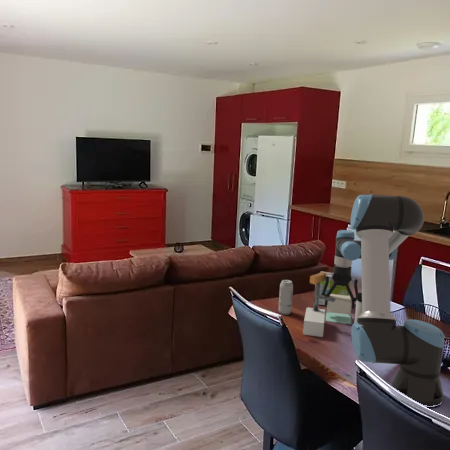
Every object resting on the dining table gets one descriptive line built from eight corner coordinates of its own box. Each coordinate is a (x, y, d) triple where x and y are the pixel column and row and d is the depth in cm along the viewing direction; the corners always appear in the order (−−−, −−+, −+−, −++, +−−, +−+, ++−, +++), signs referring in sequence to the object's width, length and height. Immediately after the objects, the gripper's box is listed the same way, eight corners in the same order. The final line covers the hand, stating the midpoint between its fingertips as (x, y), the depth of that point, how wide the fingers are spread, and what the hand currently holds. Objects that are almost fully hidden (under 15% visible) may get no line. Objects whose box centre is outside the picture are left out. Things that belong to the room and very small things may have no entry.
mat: (351, 324, 196) (351, 323, 196) (325, 321, 199) (325, 320, 198) (350, 315, 206) (350, 314, 206) (326, 312, 209) (326, 311, 209)
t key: (338, 312, 192) (341, 277, 189) (327, 318, 186) (330, 281, 183) (318, 306, 199) (321, 272, 196) (307, 311, 192) (310, 276, 189)
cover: (349, 314, 197) (351, 301, 196) (328, 311, 199) (329, 298, 198) (349, 308, 204) (350, 296, 203) (328, 306, 207) (329, 293, 205)
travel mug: (358, 344, 176) (363, 295, 173) (349, 337, 183) (354, 290, 179) (372, 343, 178) (377, 295, 174) (363, 336, 184) (368, 289, 181)
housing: (322, 337, 182) (324, 322, 181) (303, 334, 184) (304, 320, 183) (324, 322, 197) (325, 309, 196) (305, 320, 199) (306, 306, 198)
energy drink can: (290, 315, 203) (292, 284, 201) (277, 313, 205) (278, 282, 203) (292, 311, 209) (294, 280, 206) (279, 309, 211) (281, 278, 208)
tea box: (315, 305, 219) (317, 275, 216) (317, 298, 228) (319, 270, 226) (347, 309, 215) (350, 279, 212) (348, 302, 224) (350, 274, 221)
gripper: (368, 265, 199) (363, 313, 203) (318, 260, 204) (314, 307, 208) (369, 269, 192) (364, 319, 196) (317, 264, 197) (313, 313, 201)
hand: (338, 313), depth 202 cm, fingers closed on cover, 9 cm apart
